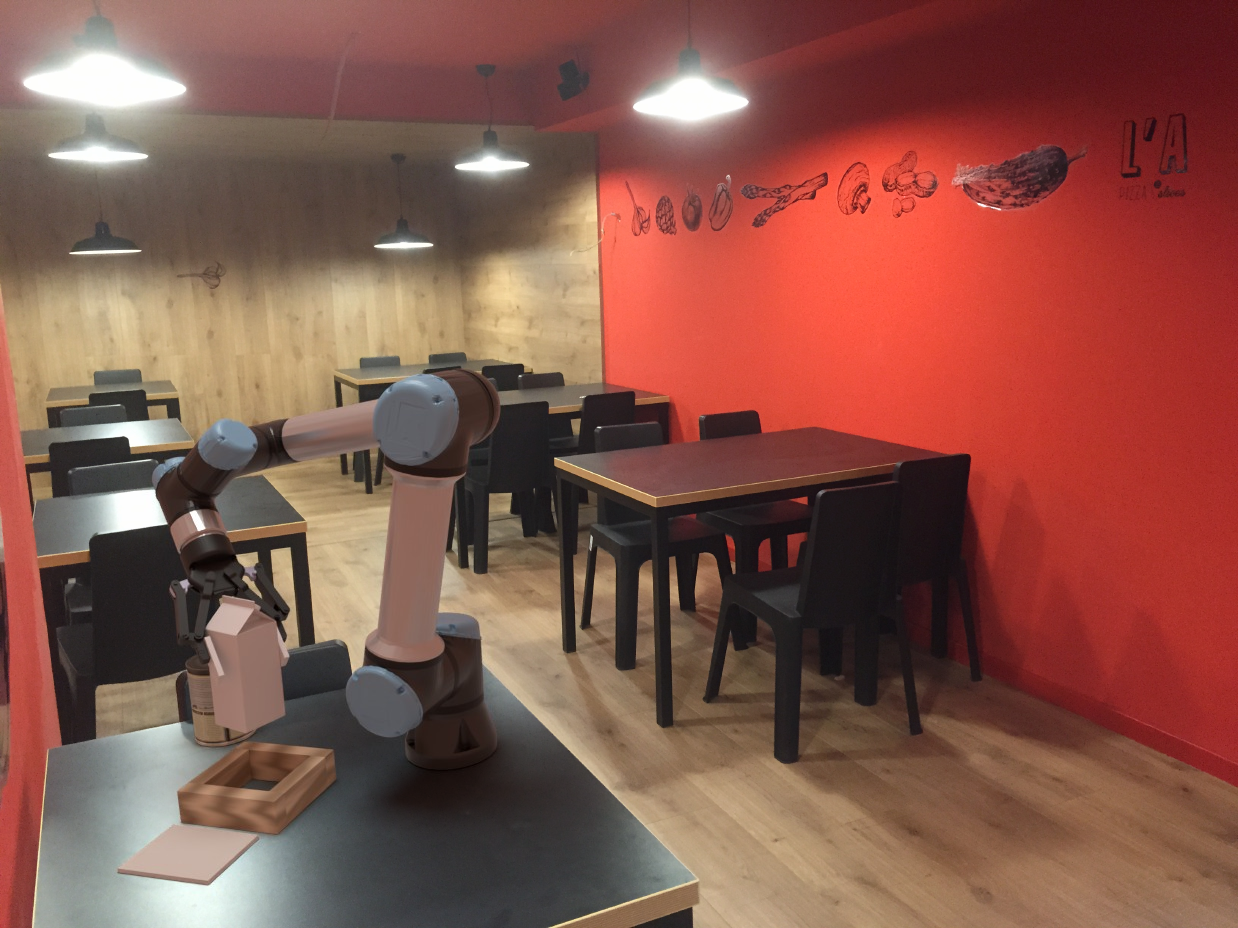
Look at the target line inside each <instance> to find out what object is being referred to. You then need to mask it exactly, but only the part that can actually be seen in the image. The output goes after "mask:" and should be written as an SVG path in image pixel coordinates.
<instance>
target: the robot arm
mask: <svg viewBox="0 0 1238 928" xmlns="http://www.w3.org/2000/svg"><path fill="white" fill-rule="evenodd" d="M500 415H501V400H500V396H499V394H498V391H497V389H496V388H495V385H494V384H493V383H492V382H491V381H490V380H489V379H488V378H487V377H486V376H485V375H483V374H481V373H480V372H477V371H476V370H472V369H467V368H453V369H452V368H451V369H448V370H443V371H437V372H432V373H431V372H430V373H418V374H414V375H411V376H410V375H409V376H407V377H406V378H404V379H400V380H398V381H396V382H394V383H393V384H391V385H390V386H389V387H388V388H386V389H385V390H384V391H383V393H382V394H381V395H380V397H378V398H377V399H373V400H372V399H371V400H367V401H363V402H358V403H353V404H349V405H344V406H339V407H335V408H331V409H325V410H320V411H316V412H311V413H307V414H302V415H301V414H300V415H297V416H293V417H288V418H280V419H276V420H271V421H269V422H263V423H259V424H256V425H254V424H253V425H251V426H247V425H246V424H244V423H243V422H242V421H239V420H233V419H231V418H222V419H219V420H217V421H215V422H214V423H213V424H212V425H211V426H210V427H209V428H208V429H207V430H205V431H204V433H202V434H201V436H200V438H199V440H198V441H197V443H196V444H195V445H194V446H193V447H192V448H191V450H190V451H189V452H188V453H187V455H186V456H177V457H171V458H169V459H167V460H165V463H160V464H158V465H157V466H156V468H154V470H153V472H152V476H151V482H152V485H153V488H154V494H155V498H156V500H157V502H158V505H159V506H160V508H161V510H162V511H161V512H162V513H163V516H164V518H165V521H166V524H167V527H168V529H169V532H170V534H171V537H172V539H173V542H174V545H175V547H176V550H177V552H178V554H179V558H180V561H181V564H182V566H183V569H184V571H185V574H186V576H187V577H186V578H187V579H184V580H181V581H179V580H177V579H174V580H172V581H171V583H170V586H169V590H168V594H169V595H170V597H171V599H172V601H173V604H174V613H175V615H174V616H175V627H176V628H175V629H176V637H177V638H176V639H177V640H176V641H177V645H178V646H179V647H185V646H191V648H192V649H193V650H195V653H196V655H197V656H198V658H199V661H200V663H201V664H202V665H203V664H207V663H208V665H209V668H210V671H211V673H212V676H213V679H214V681H215V684H216V685H219V684H221V683H222V680H223V677H224V672H223V670H222V667H221V664H220V662H219V659H218V656H217V654H216V651H215V649H214V646H213V643H212V641H211V638H210V636H208V637H206V636H205V637H204V634H205V627H206V624H207V618H208V612H209V608H210V605H211V604H210V603H211V601H212V602H214V601H218V600H220V599H222V596H223V595H225V596H230V597H235V598H240V599H245V600H250V601H254V602H255V604H257V605H258V606H260V607H261V608H260V610H259V611H260V612H262V613H264V614H265V615H267V616H269V617H270V618H272V619H274V620H275V621H276V624H277V634H278V644H279V654H280V664H281V668H283V667H285V666H287V663H288V661H289V659H290V654H289V652H288V650H287V647H286V644H285V643H286V641H287V638H288V634H287V632H286V629H285V627H284V624H283V622H285V621H287V619H288V617H289V614H290V612H291V608H290V607H289V605H288V603H287V602H286V601H285V599H284V598H283V596H281V593H279V592H278V590H277V589H276V587H275V586H274V584H273V583H272V582H271V580H270V579H269V577H268V576H267V575H266V572H265V568H264V565H263V563H262V562H256V563H255V564H254V565H253V566H244V565H243V564H242V563H240V562H239V560H238V557H237V553H236V552H235V550H234V549H235V548H234V546H233V544H232V542H231V540H230V538H229V537H228V536H229V534H228V532H227V529H226V527H225V524H224V523H223V520H222V518H221V515H220V512H219V510H218V508H217V505H216V502H215V500H216V499H217V497H218V496H219V495H221V493H222V492H223V491H224V490H225V489H226V488H227V487H228V485H230V483H231V482H232V481H233V480H235V479H236V478H240V477H243V476H247V475H251V474H254V473H259V472H261V471H264V470H270V469H272V468H273V469H274V468H277V467H281V466H287V465H292V464H293V465H294V464H297V463H302V462H305V461H311V460H317V459H322V458H328V457H333V456H338V455H344V454H349V453H350V454H351V453H355V452H361V451H366V450H370V449H371V450H372V449H376V448H379V449H380V450H381V452H382V453H383V455H384V457H383V466H384V468H385V469H386V470H387V471H388V472H389V473H390V474H391V475H392V477H393V479H392V485H391V487H392V488H391V496H390V504H389V505H390V506H389V515H388V516H389V517H388V524H387V525H388V526H387V535H386V546H385V555H384V562H383V573H382V584H381V590H380V592H381V593H380V600H379V601H380V602H379V610H378V619H377V620H378V621H377V628H376V629H374V630H373V631H371V632H370V633H368V635H367V636H366V639H365V643H364V650H363V651H364V653H363V662H362V666H361V667H358V668H357V669H356V670H354V671H353V672H352V674H351V675H350V677H349V679H348V680H347V683H346V687H345V698H346V703H347V706H348V709H349V711H350V713H351V714H352V716H353V717H355V718H356V720H357V722H358V723H359V724H360V725H361V727H363V728H364V729H365V730H367V731H369V732H370V733H372V734H374V735H376V736H380V737H383V738H395V737H397V738H398V737H401V736H402V735H405V734H406V735H405V738H404V739H405V743H404V747H405V755H406V759H407V760H408V761H409V762H410V763H411V764H413V765H415V766H416V767H420V768H423V769H427V770H436V771H441V770H442V771H444V770H445V771H446V770H455V769H457V770H458V769H463V768H466V767H469V766H473V765H476V764H479V763H481V762H482V761H485V760H486V759H489V757H491V755H493V754H494V753H495V751H497V747H498V733H497V728H496V725H495V724H494V721H493V719H492V716H491V714H490V711H489V709H488V707H487V704H486V701H485V692H484V689H485V688H484V687H485V686H484V672H483V669H484V668H483V653H482V652H483V651H482V640H483V637H482V636H481V628H480V623H479V621H478V619H476V618H475V617H474V616H472V615H469V614H467V613H460V612H442V611H441V612H439V610H440V609H439V608H440V600H441V594H442V593H441V592H442V585H443V578H444V577H443V576H444V569H445V563H446V562H445V560H446V552H447V544H448V538H449V537H448V535H449V527H450V520H451V518H450V517H451V511H452V510H451V509H452V503H453V497H454V488H455V483H456V482H457V481H459V480H460V479H461V478H463V477H464V476H465V475H466V474H467V468H468V463H469V462H468V461H469V453H470V447H472V446H474V445H477V444H479V443H481V442H482V441H484V440H485V439H486V438H487V437H488V436H489V435H490V434H492V432H494V429H495V428H496V427H497V425H498V423H499V420H500ZM244 577H248V579H249V581H250V582H253V583H254V584H253V585H254V586H255V587H256V588H257V590H258V591H259V593H260V594H261V596H262V597H263V598H262V597H260V596H259V595H258V594H257V593H256V592H255V591H254V590H253V589H251V588H250V587H249V584H248V583H247V582H246V581H245V580H244V579H243V578H244ZM188 589H190V590H192V591H193V592H195V593H196V594H197V595H200V599H199V605H198V612H197V616H196V617H197V618H196V621H195V627H194V631H193V632H190V630H189V621H188V620H189V619H188V608H187V599H186V597H187V596H186V595H187V594H188Z"/></svg>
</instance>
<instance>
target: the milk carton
mask: <svg viewBox="0 0 1238 928" xmlns="http://www.w3.org/2000/svg"><path fill="white" fill-rule="evenodd" d="M221 599H222V603H221V605H220V606H219V607H218V609H217V611H215V613H214V615H213V616H212V617H211V619H210V620H209V622H208V623H206V624H207V625H205V629H204V634H205V637H208V636H210V638H211V641H212V643H213V646H214V649H215V651H216V654H217V656H218V659H219V662H220V664H221V667H222V670H223V672H224V677H223V680H222V683H221V684H219V685H216V684H215V681H214V679H213V676H212V673H211V671H210V679H211V688H212V697H213V706H214V715H215V723H216V724H217V725H220V726H223V727H226V728H230V729H233V730H236V731H239V732H243V733H248V732H250V731H252V730H255V729H259V728H261V727H263V726H265V725H268V724H270V723H272V722H274V721H276V720H278V719H281V718H283V717H285V716H286V706H285V697H284V686H283V675H282V667H281V664H280V654H279V644H278V634H277V624H276V621H275V620H274V619H272V618H270V617H269V616H267V615H265V614H264V613H262V612H260V611H259V610H260V608H261V607H260V606H258V605H257V604H255V602H254V601H250V600H245V599H240V598H235V597H230V596H225V595H223V596H222V598H221ZM209 670H210V668H209Z"/></svg>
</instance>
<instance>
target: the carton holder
mask: <svg viewBox="0 0 1238 928" xmlns="http://www.w3.org/2000/svg"><path fill="white" fill-rule="evenodd" d="M334 750H335V749H332V748H318V747H309V746H302V745H301V746H299V745H290V744H289V745H288V744H287V745H286V744H279V743H277V744H276V743H267V742H258V741H246V740H243V742H241V743H240V744H239V745H237V746H236V747H234V748H233V749H231V751H229V752H228V753H227V754H225V755H224V756H222V757H221V758H220V759H218V760H217V761H216V762H214V763H213V764H211V765H210V766H209V767H208V768H206V769H205V770H204V771H202V772H201V773H199V774H198V775H197V776H196V777H194V778H193V779H191V780H190V781H188V782H187V783H186V784H185V785H184V786H182V787H180V788H179V789H178V790H177V791H176V793H177V801H178V810H179V817H180V818H179V819H180V823H182V824H190V825H198V826H206V827H215V828H223V829H229V830H230V829H231V830H239V831H246V832H254V833H265V834H271V835H279V834H280V833H281V832H282V831H283V830H284V829H285V828H286V827H287V826H288V825H289V824H290V823H291V822H292V821H294V820H295V818H296V817H298V816H299V815H300V813H302V812H303V811H304V810H305V809H306V808H308V806H309V805H311V804H312V803H313V801H315V800H316V799H317V798H318V797H319V796H320V795H321V794H322V793H323V792H324V791H325V790H326V789H327V788H329V786H330V785H332V784H333V783H334V782H335V781H336V780H337V774H336V773H337V771H336V762H335V761H336V760H335V751H334ZM251 780H258V781H259V780H260V781H267V782H277V784H276V785H274V786H273V787H272V788H271V789H270V790H259V789H251V788H250V789H249V788H242V787H244V786H245V785H246V784H248V783H249V782H250V781H251Z"/></svg>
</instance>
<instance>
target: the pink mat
mask: <svg viewBox="0 0 1238 928" xmlns="http://www.w3.org/2000/svg"><path fill="white" fill-rule="evenodd" d="M259 839H260V836H259V834H258V833H257V834H256V833H255V834H254V833H247V832H239V831H231V830H222V829H215V828H207V827H205V828H204V827H198V826H190V825H182V824H174V823H173V824H172V825H171V826H169V827H168V828H167V829H166V830H164V831H163V832H161V834H159V835H158V836H157V837H156V838H154V839H153V840H151V842H149V843H148V844H146V845H145V846H144V847H143V848H142V849H140V850H139V851H137V853H135V854H134V855H132V856H131V857H129V859H127V860H126V861H125V862H123V864H121V865H120V866H118V867H117V868H116V869H117V873H119V874H126V875H134V876H141V877H149V878H156V879H163V880H169V881H170V880H171V881H178V882H185V883H191V884H199V885H205V886H208V885H210V884H212V882H214V880H216V878H218V877H219V876H220V875H221V874H222V873H223V872H224V871H225V870H226V869H227V868H229V867H230V866H231V865H232V864H233V863H234V862H236V860H237V859H239V857H241V856H242V855H243V854H244V853H245V852H246V851H247V850H248V849H250V848H251V846H253V845H254V844H255V843H256V842H257V841H258V840H259Z"/></svg>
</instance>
